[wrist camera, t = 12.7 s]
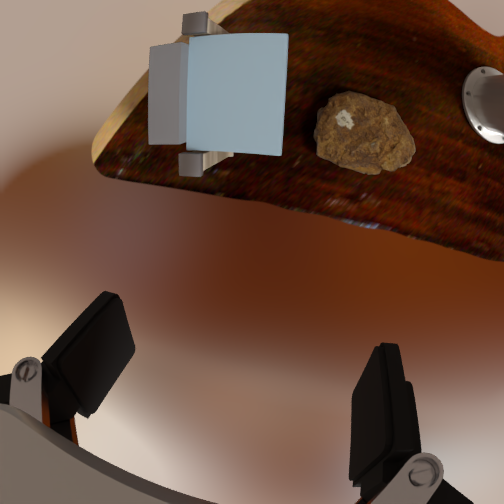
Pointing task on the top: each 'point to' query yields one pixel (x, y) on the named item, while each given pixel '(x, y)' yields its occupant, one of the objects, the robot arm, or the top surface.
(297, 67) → the top surface
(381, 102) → the decorative rock
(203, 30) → the trapdoor stand
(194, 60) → the trapdoor
